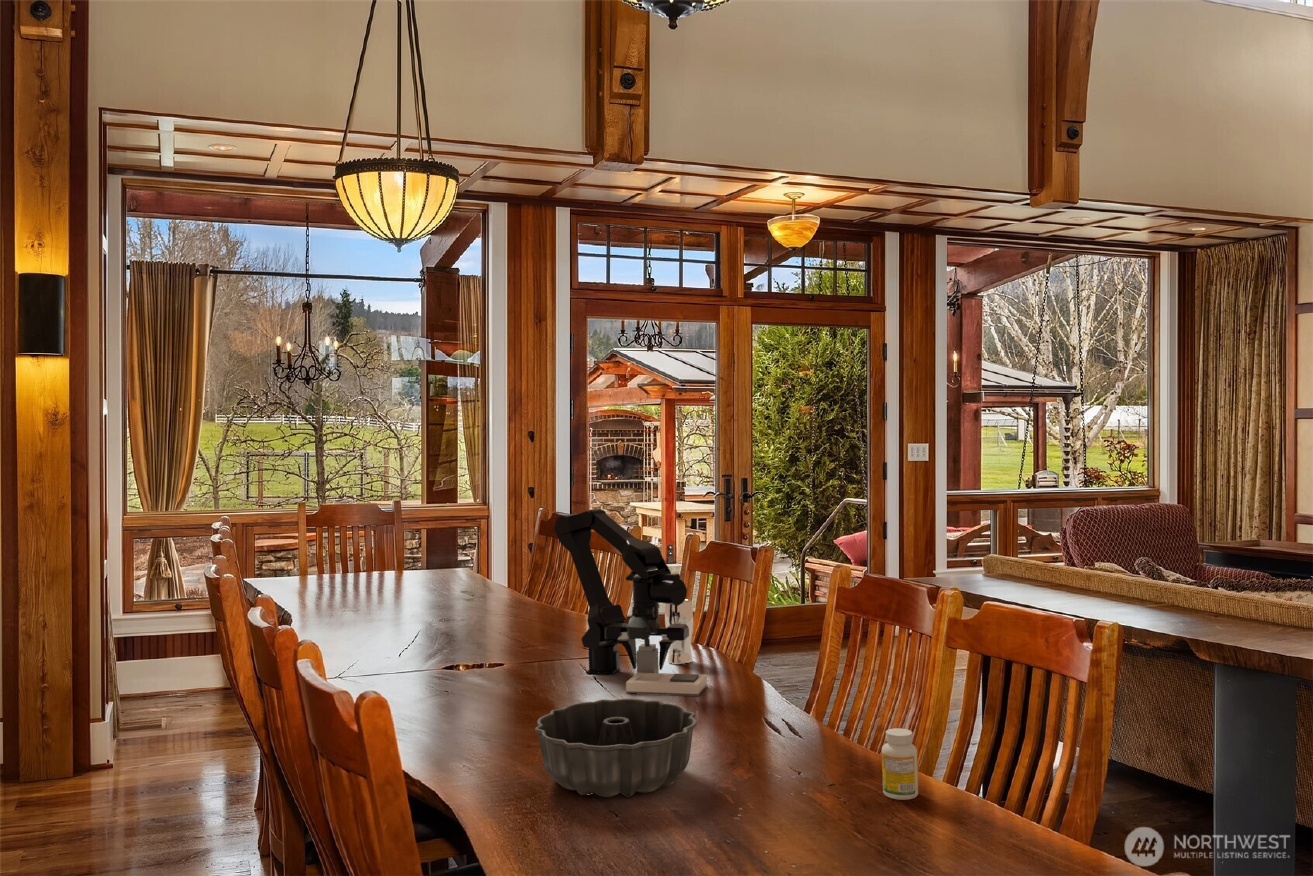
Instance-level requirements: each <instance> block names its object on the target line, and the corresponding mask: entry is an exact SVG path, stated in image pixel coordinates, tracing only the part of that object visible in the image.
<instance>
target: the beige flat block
mask: <svg viewBox="0 0 1313 876" xmlns="http://www.w3.org/2000/svg"><path fill="white" fill-rule="evenodd" d="M706 686H708V675H707V674H696V673H695V674H694V673H661V672H659V673H637V672H636V673H635V674H634V675H632V677H630V678H629V679H628V680H627V681H626V682H625V688H626V689H625V691H626V693H637V694H636V695H648V694H659V695H658V696H675V695H676V696H679V697H699V696H700V695H701V694H702V693H703V691H704V690H705V689H706V688H707V687H706ZM705 687H706V688H705ZM701 692H702V693H701ZM626 693H625V694H626ZM638 693H639V694H638ZM700 693H701V694H700Z"/></svg>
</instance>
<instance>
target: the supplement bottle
mask: <svg viewBox="0 0 1313 876" xmlns="http://www.w3.org/2000/svg"><path fill="white" fill-rule="evenodd" d="M885 740H886V743H884V745H883V746H882V747H881V771H882V772H881V773H882V775H881V777H882V792H883V794H884V796H885V797H888V798H890V799H893V800H899V801H907V800H912V799H915V798H916V797H917V796H918V795H919V763H918V761H919V759H918V748H917V747H916V746H915V745H914V744H913V741H914V737H913V732H912V730H909V729H907V728H906V729H905V728H900V727H899V728H895V727H894V728H890V729H887V730H886V731H885Z"/></svg>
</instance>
